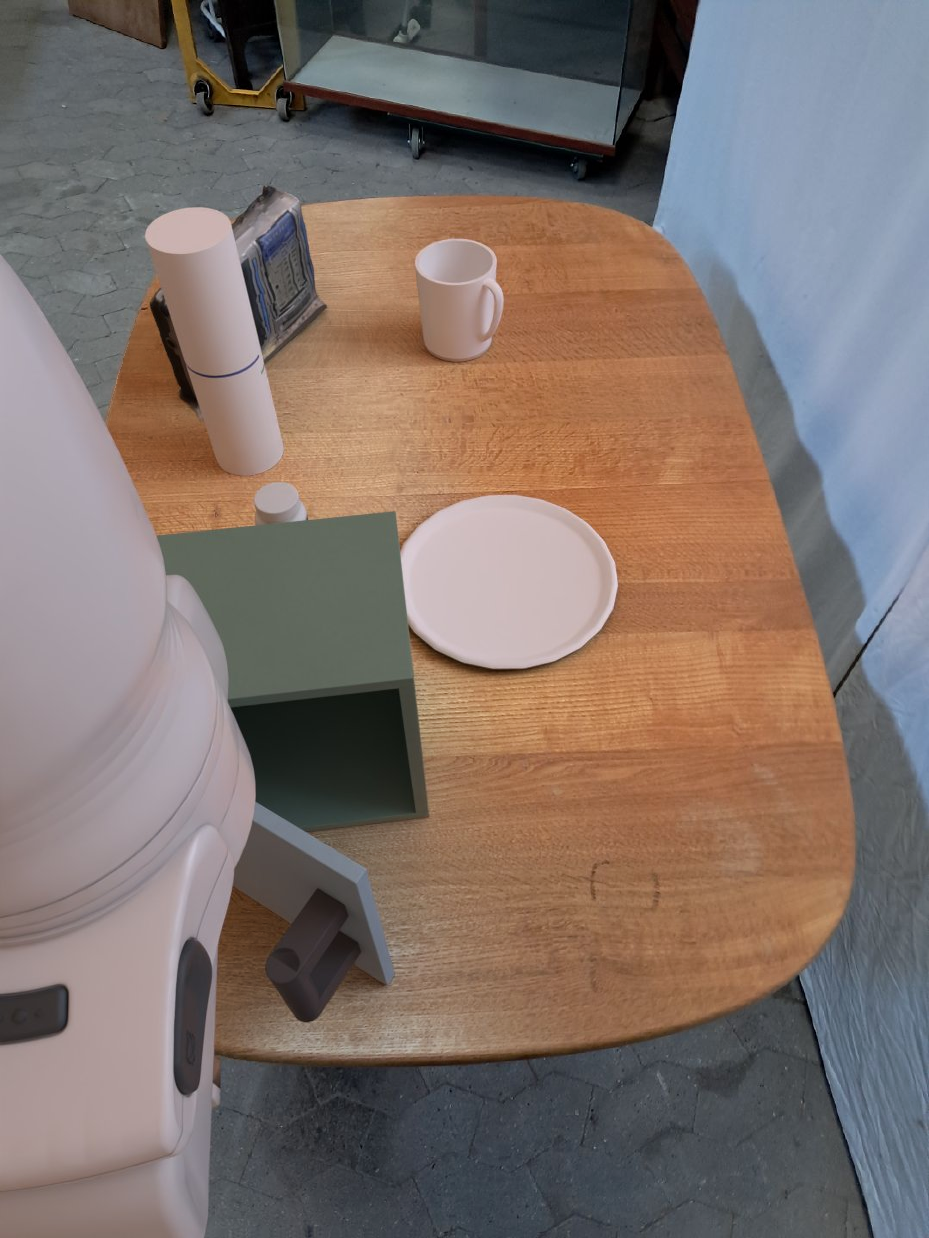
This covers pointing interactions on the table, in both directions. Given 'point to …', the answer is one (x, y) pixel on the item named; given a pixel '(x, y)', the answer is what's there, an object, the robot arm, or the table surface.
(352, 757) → the cupboard
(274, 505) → the pill bottle
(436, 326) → the mug
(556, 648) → the plate
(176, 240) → the cylindrical container
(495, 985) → the table surface
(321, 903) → the cabinet door
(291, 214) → the radio
